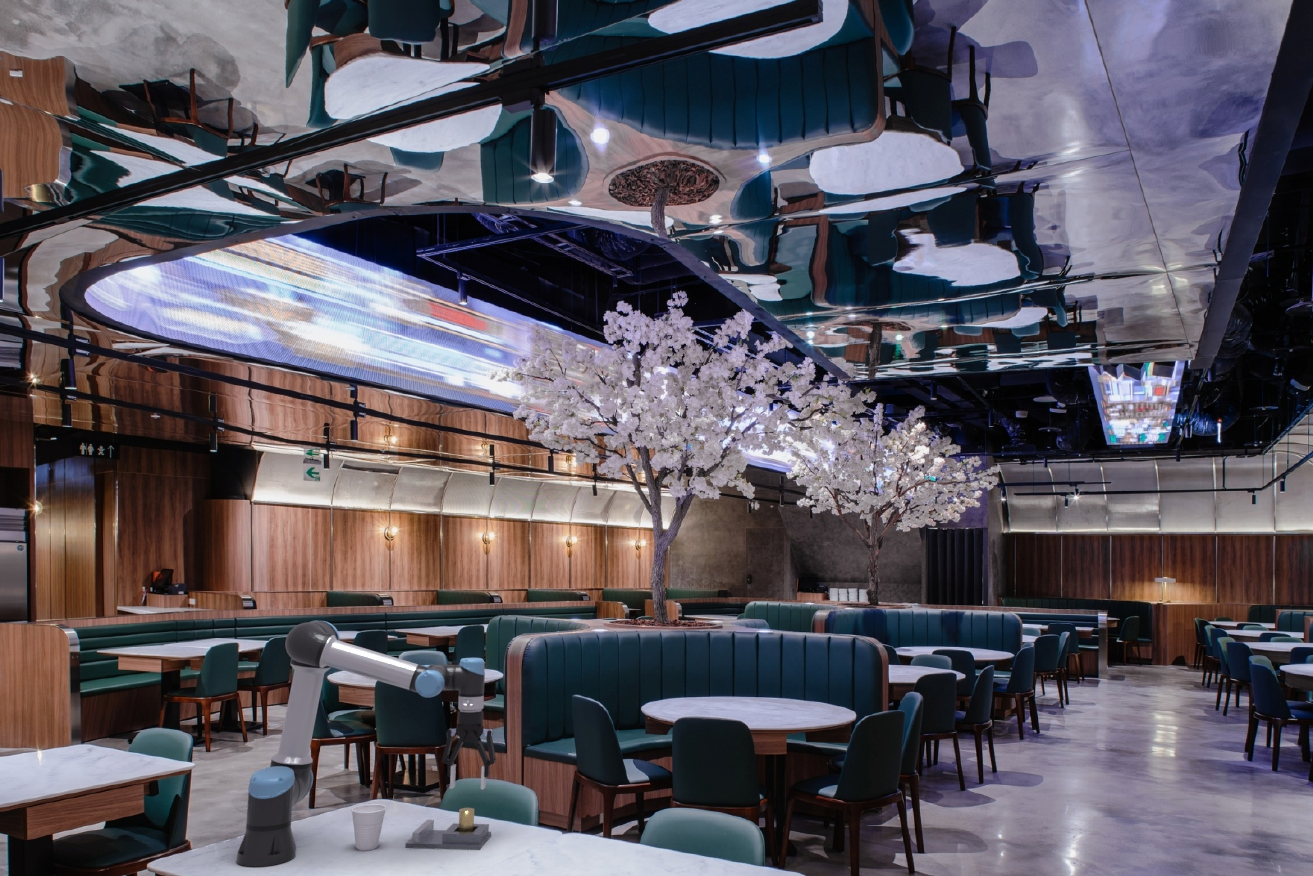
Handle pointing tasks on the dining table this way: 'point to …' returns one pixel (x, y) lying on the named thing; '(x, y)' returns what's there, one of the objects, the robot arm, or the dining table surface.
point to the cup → (367, 825)
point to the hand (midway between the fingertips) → (467, 788)
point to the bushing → (466, 820)
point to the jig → (448, 837)
